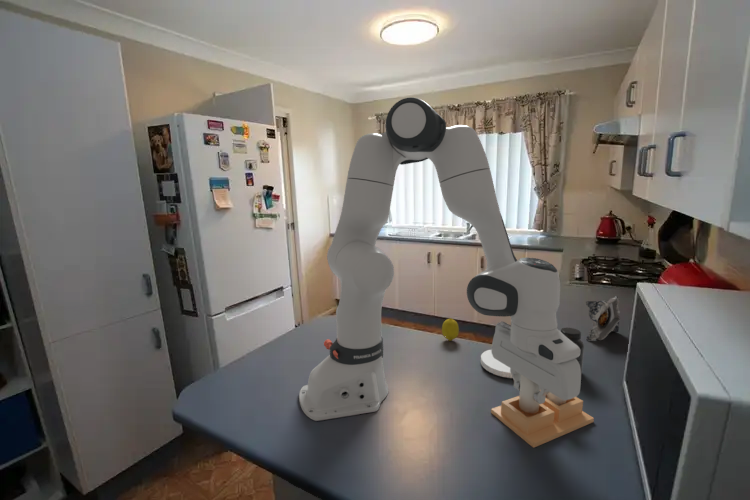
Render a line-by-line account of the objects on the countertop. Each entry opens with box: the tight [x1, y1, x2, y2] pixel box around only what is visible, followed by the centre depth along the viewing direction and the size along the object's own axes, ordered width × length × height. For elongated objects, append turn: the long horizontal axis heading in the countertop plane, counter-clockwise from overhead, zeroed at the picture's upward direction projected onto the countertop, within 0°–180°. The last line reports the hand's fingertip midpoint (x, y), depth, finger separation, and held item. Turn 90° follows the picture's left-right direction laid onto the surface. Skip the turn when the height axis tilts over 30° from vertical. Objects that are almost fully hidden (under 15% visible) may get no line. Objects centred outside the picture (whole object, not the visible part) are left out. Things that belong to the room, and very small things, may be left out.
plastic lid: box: [480, 348, 513, 379], centre depth 99 cm, size 14×14×2 cm
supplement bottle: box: [560, 327, 585, 375], centre depth 96 cm, size 7×7×12 cm
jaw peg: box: [518, 375, 540, 413], centre depth 75 cm, size 4×4×8 cm
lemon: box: [441, 317, 460, 342], centre depth 116 cm, size 6×6×8 cm
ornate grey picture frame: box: [585, 295, 621, 341], centre depth 118 cm, size 15×4×13 cm, turn 120°
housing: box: [490, 390, 595, 449], centre depth 77 cm, size 18×12×9 cm, turn 114°
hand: (528, 394), depth 75 cm, fingers closed on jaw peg, 4 cm apart
